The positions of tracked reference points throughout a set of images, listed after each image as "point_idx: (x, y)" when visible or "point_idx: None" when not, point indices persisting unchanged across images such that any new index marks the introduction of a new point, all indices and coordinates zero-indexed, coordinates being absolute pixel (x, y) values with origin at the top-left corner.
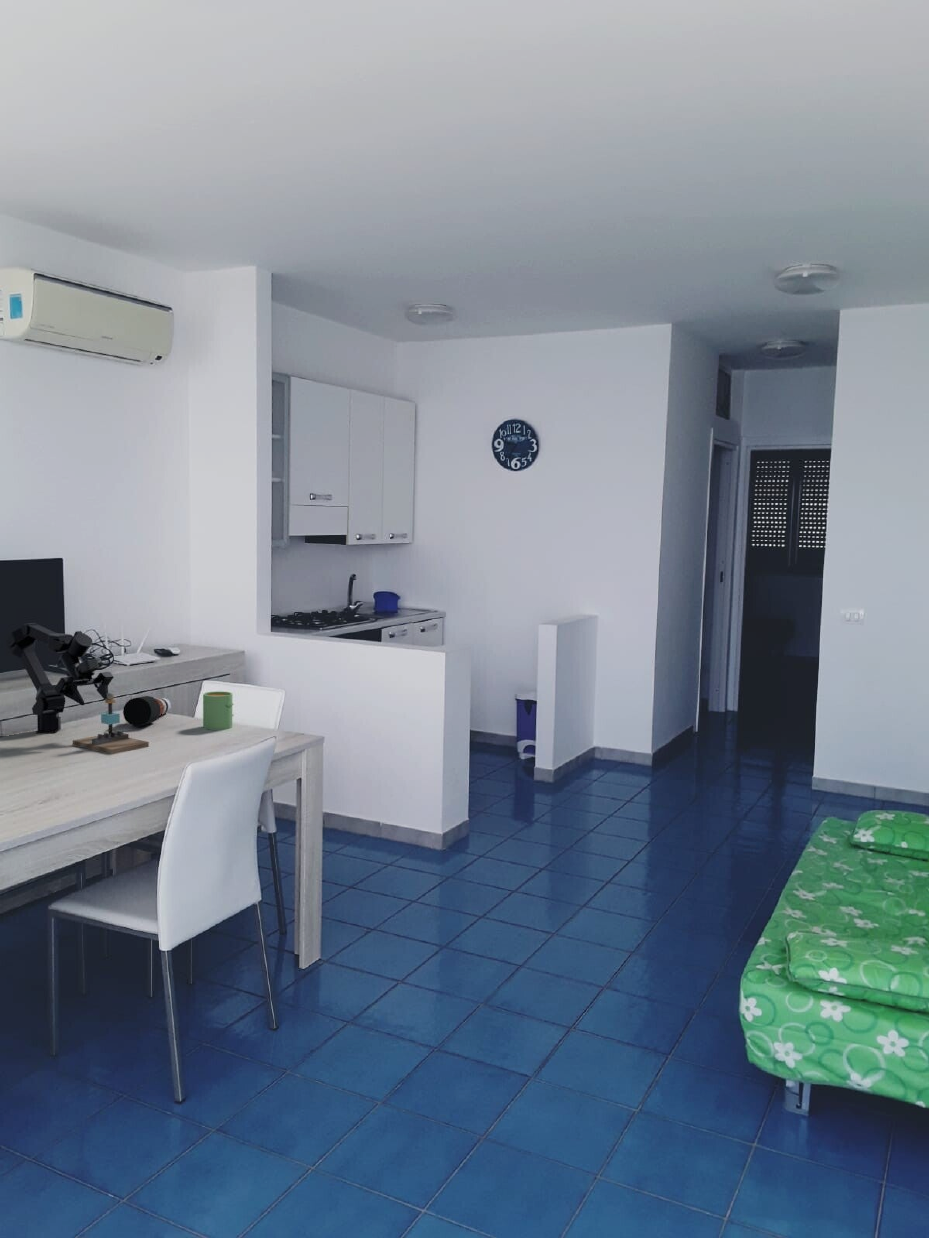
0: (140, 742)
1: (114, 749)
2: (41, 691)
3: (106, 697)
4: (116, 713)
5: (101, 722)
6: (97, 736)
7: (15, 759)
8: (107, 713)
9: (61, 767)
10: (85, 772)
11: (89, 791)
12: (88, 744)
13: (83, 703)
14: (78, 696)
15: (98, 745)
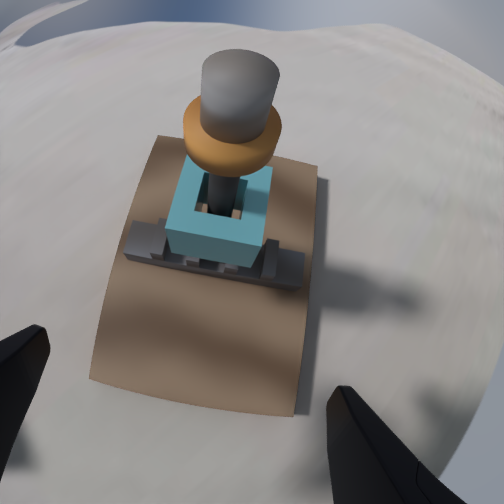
0: (176, 150)
1: (305, 164)
2: None
3: (28, 355)
4: (194, 167)
5: (251, 264)
6: (167, 385)
7: (488, 365)
8: (225, 217)
9: (461, 201)
10: (441, 135)
11: (463, 89)
12: (307, 301)
13: (350, 388)
14: (405, 448)
15: (302, 246)
